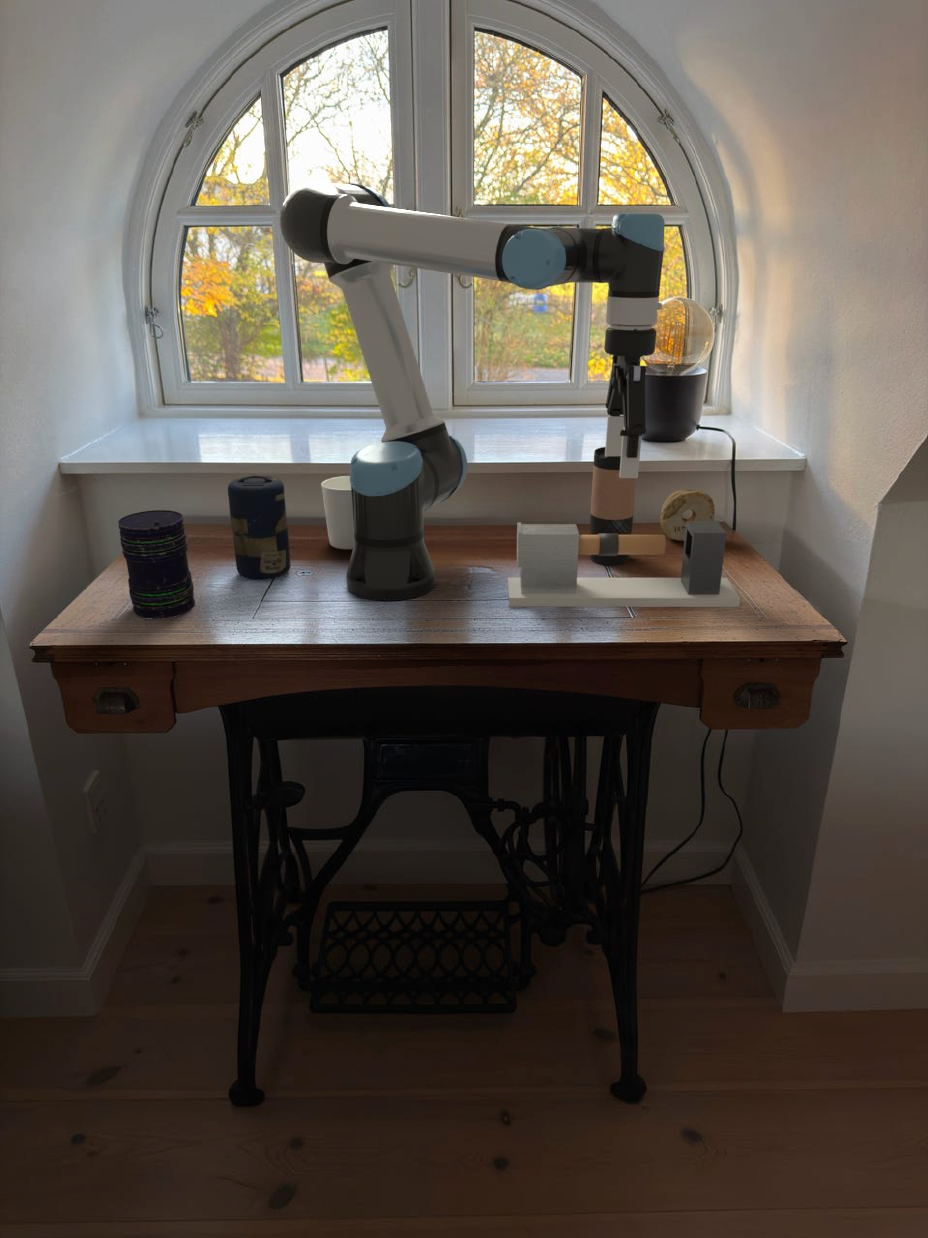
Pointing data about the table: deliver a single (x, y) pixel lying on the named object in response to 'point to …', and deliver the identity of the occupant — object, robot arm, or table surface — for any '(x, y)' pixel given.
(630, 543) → the orange tube
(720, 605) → the baseboard
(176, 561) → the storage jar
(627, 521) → the travel mug
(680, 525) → the stone disc
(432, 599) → the table surface
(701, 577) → the charcoal socket
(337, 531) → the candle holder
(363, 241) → the robot arm
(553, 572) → the light grey block
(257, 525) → the canister
